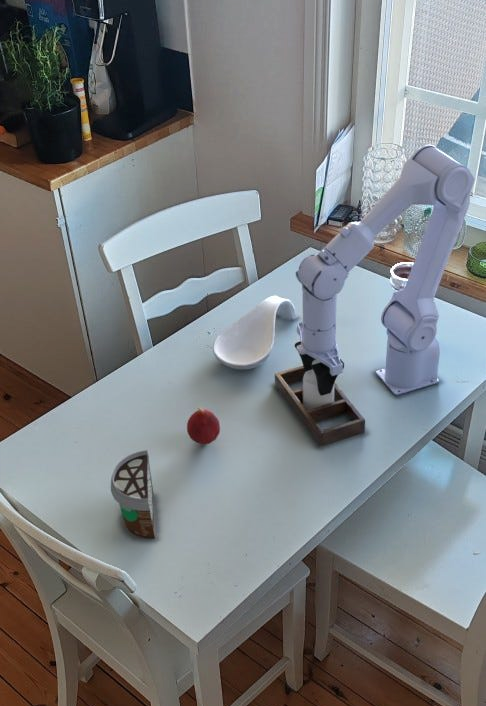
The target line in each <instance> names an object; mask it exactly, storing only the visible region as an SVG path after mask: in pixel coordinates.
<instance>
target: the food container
mask: <svg viewBox="0 0 486 706" xmlns="http://www.w3.org/2000/svg"><path fill="white" fill-rule="evenodd" d="M149 458H150V456H149V451H148V449H145V450H140V451H136V452H134V453H131V454H129V455H127V456H126V457H124V458H123V459H121V460H120V461H119V462H118V463H117V464H116V466H115V468H114V470H113V472H112V474H111V478H110V492H111V495H112V497H113V499H114V500H115V501H116V502H117V503H118V505H119V509H120V512H121V516H122V518H123V522H124V525H125V528H126V529H127V530H128V531H129V533H131V534H132V535H133V536H136V537H138V538H141V539H146V540H147V539H149V540H152V539H156V517H155V516H156V515H155V514H156V513H155V512H156V511H155V510H156V509H155V507H156V506H155V493H154V487H153V479H152V474H151V473H152V472H151V466H150V460H149Z"/></svg>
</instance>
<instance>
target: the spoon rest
mask: <svg viewBox="0 0 486 706" xmlns="http://www.w3.org/2000/svg"><path fill="white" fill-rule="evenodd" d="M276 315H279V316H281V317H284V318H288V319H292V320H293V319H296V318H297V317H298V316H297V310H296V307H295V305H294V303H293V302H292V301H291V300H290V299H288V298H281V297H279V296H278V295H270V296H269V297H266V298H265V299H264V300H262V301H261V302H260V303H259V304H257V306H256V307H254V308H252V310H251V311H249V312H248V313H246V314H245V315H244V316H242V317H240V318H239V319H238V320H236V321H235V322H234V323H232V324H231V325H230V326H228V327H227V328H226V329H225V330H223V331H222V332H220V334H219V335H218V336H217V337H216V338H215V340H214V342H213V344H212V352H213V355H214V357H215V358H216V360H218V361H219V362H220V363H221V364H222V365H224V366H225V367H228V368H231V369H234V370H251V369H254V368H257V367H258V366H260V365H262V364H263V363H264V362H265V361H266V360H267V359H268V357H269V356H270V355H271V353H272V350H273V347H274V343H275V332H276V331H275V330H276V327H275V326H276Z"/></svg>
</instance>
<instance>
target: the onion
mask: <svg viewBox="0 0 486 706" xmlns="http://www.w3.org/2000/svg"><path fill="white" fill-rule="evenodd" d="M220 425H221V424H220V421H219V419H218V417H217V416H216V415H215V414H214V413H213V412H212V411H211V410H208V409H203V407H198V409H197V410H196V411H194V412H193V413H192V414H191V415H190V417H189V418H188V420H187V423H186V431H187V435H188V436H189V438H190V439H191V441H193V442H194V443H196V444H199V445H210V444H211V443H213V442H214V441H216V439H217V438H218V436H219V435H220V432H221V426H220Z"/></svg>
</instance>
